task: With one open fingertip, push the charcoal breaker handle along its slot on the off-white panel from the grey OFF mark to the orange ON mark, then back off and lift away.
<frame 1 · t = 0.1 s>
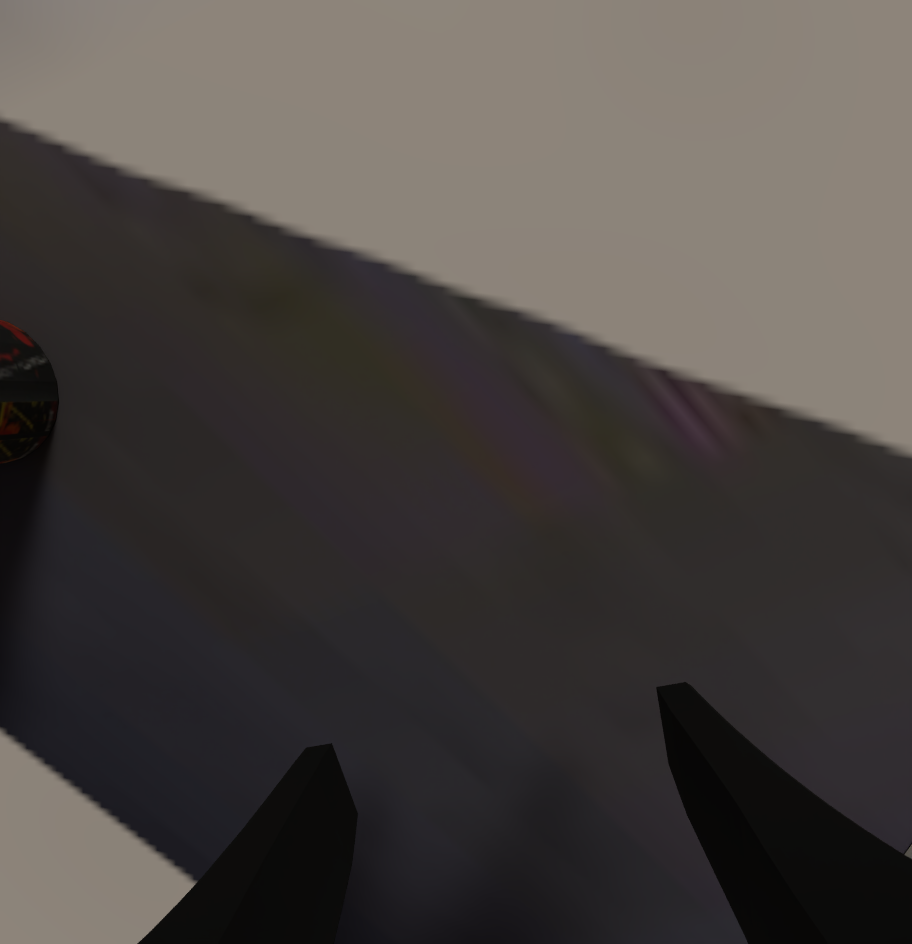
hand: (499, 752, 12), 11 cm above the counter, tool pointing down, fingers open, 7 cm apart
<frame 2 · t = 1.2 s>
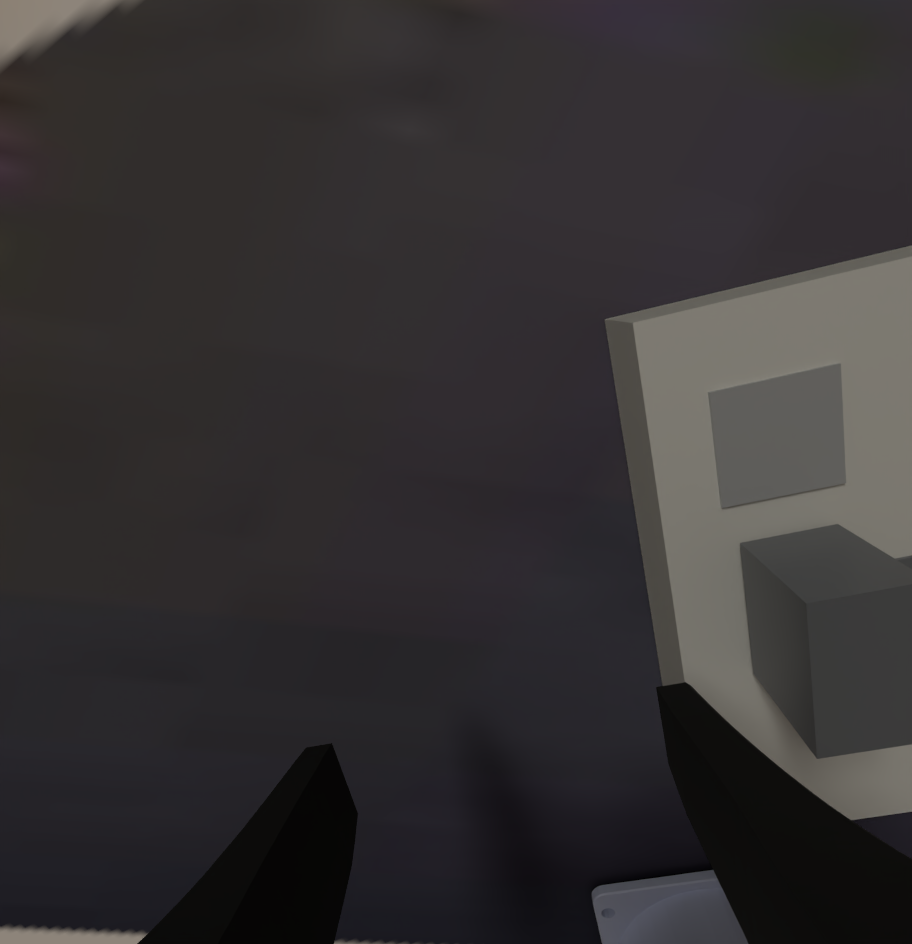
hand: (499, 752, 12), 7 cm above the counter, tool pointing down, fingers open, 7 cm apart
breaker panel: (870, 525, 17), on the counter
breaker handle: (828, 634, 13), point 5 cm above the counter, slide at 0.0 cm
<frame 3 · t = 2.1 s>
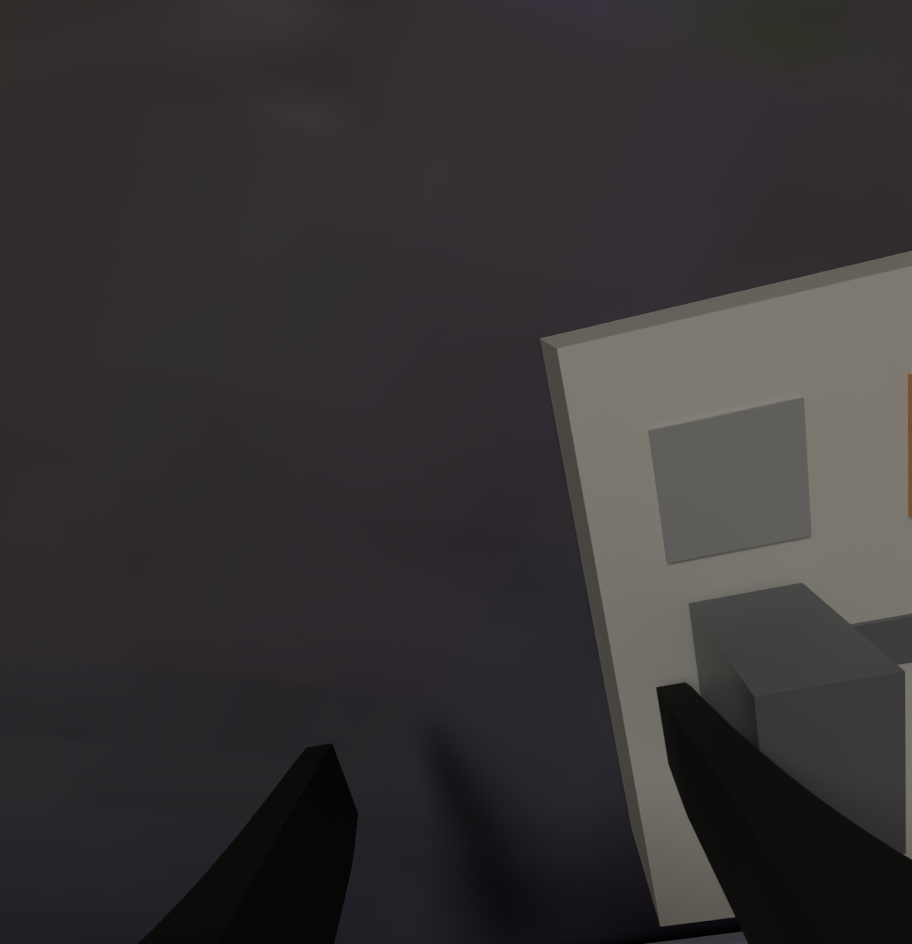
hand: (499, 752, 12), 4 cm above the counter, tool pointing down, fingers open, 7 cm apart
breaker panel: (846, 570, 15), on the counter
breaker handle: (787, 717, 11), point 5 cm above the counter, slide at 0.0 cm, touching gripper
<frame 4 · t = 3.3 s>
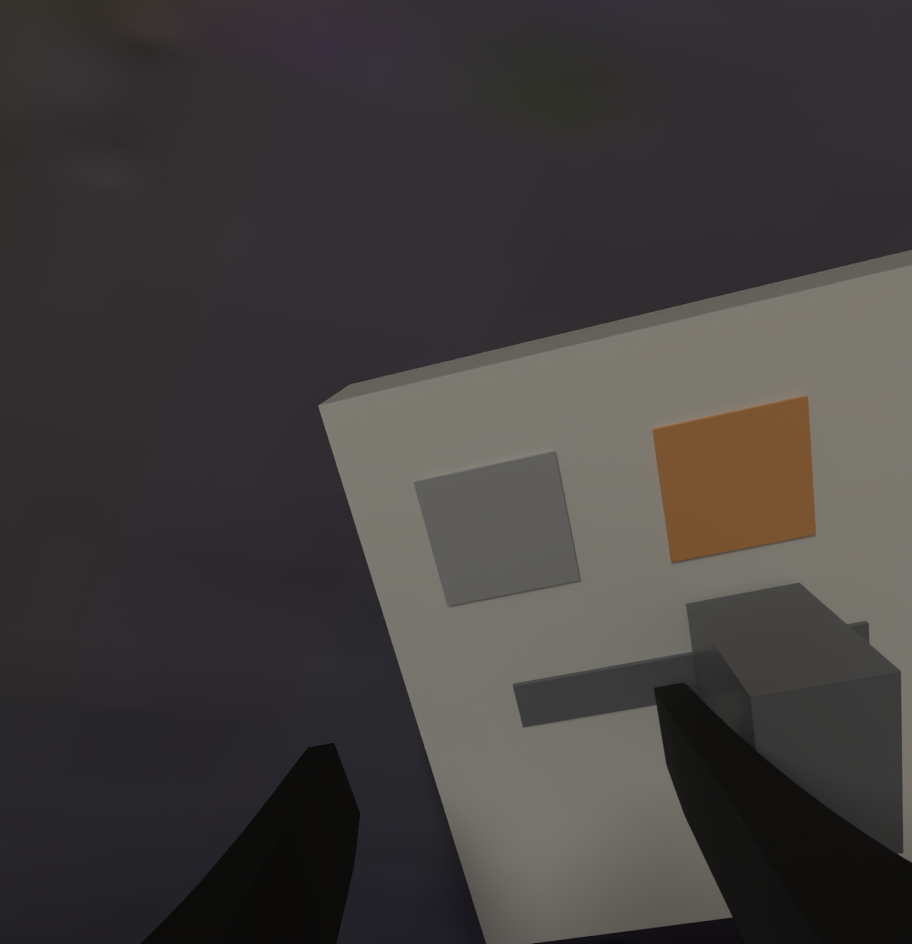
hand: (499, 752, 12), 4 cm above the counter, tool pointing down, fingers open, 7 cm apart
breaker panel: (666, 603, 16), on the counter
breaker handle: (784, 717, 11), point 5 cm above the counter, slide at 4.8 cm, touching gripper
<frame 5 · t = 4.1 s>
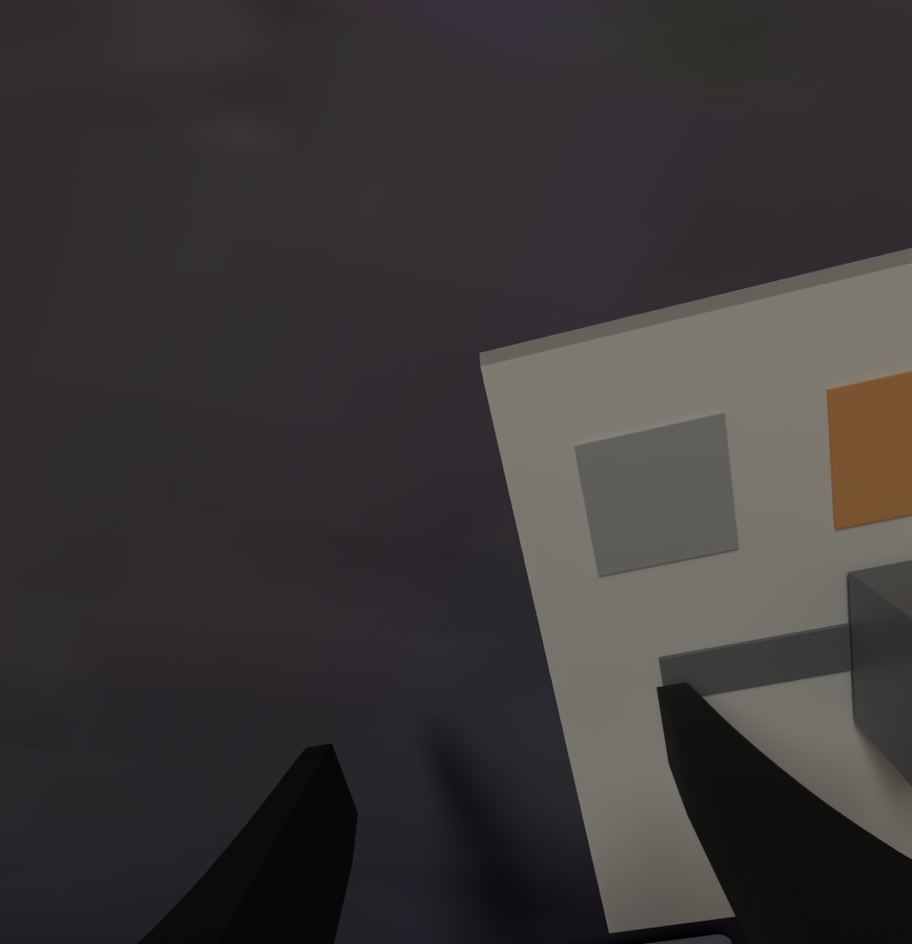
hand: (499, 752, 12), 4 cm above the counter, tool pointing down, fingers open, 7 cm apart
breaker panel: (791, 579, 15), on the counter
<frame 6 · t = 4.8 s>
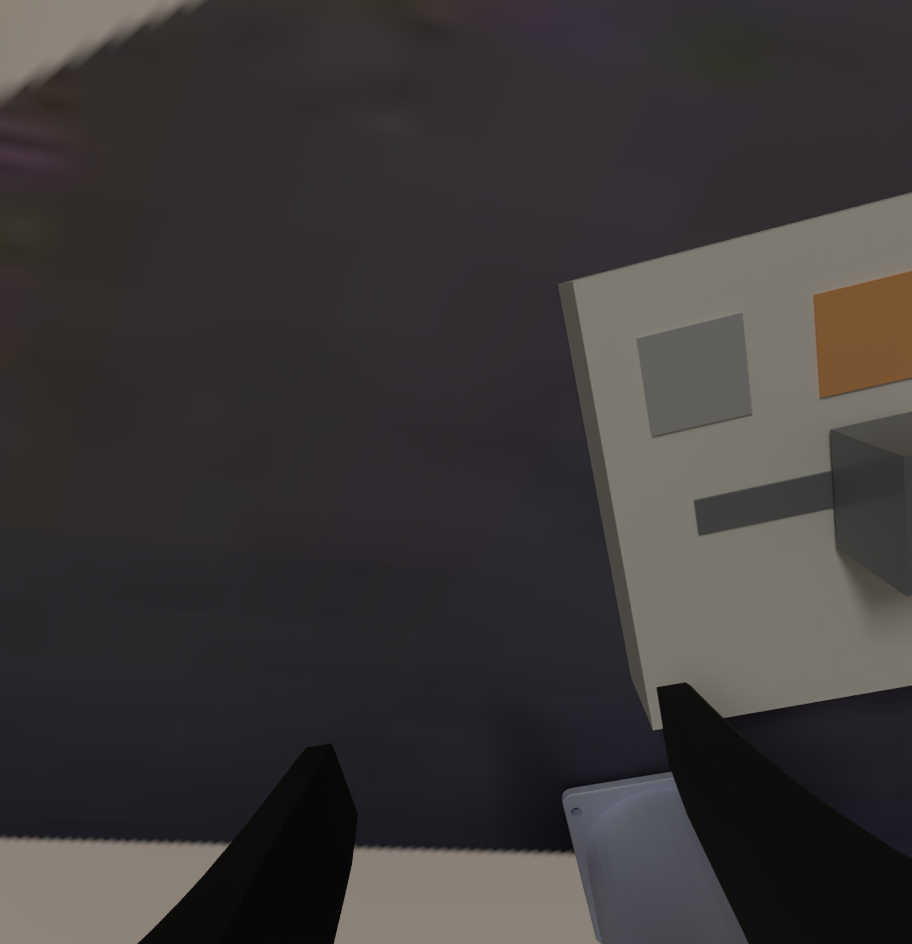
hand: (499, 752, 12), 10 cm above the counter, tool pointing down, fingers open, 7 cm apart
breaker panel: (789, 459, 20), on the counter
breaker handle: (910, 499, 16), point 5 cm above the counter, slide at 4.8 cm
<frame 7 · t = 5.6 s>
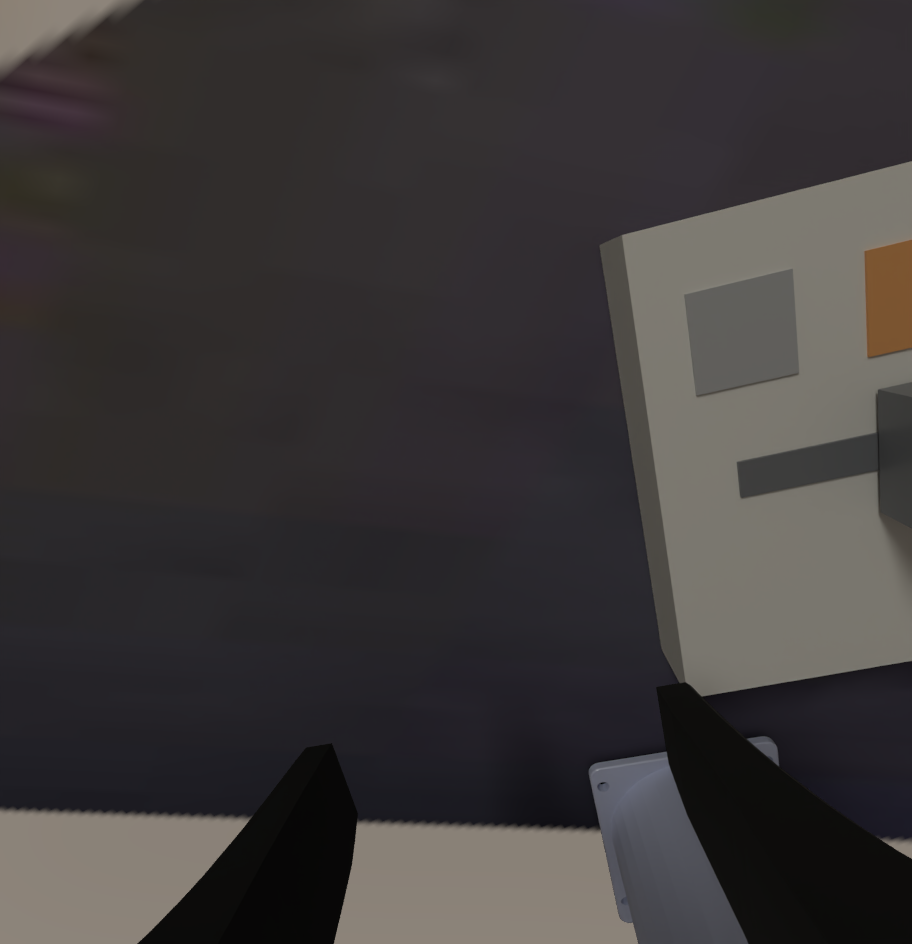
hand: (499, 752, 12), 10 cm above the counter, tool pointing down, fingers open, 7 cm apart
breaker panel: (828, 427, 20), on the counter
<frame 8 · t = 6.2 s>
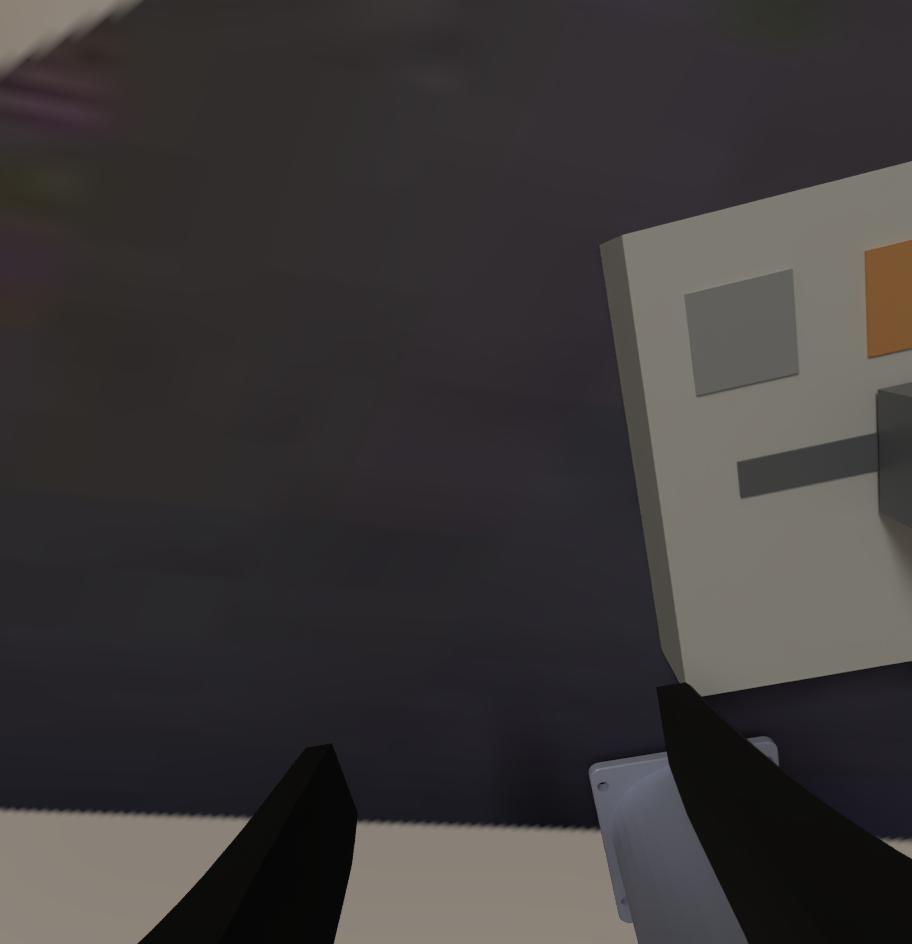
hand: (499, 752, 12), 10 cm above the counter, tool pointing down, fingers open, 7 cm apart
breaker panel: (828, 427, 20), on the counter
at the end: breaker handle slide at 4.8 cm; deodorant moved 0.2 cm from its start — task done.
